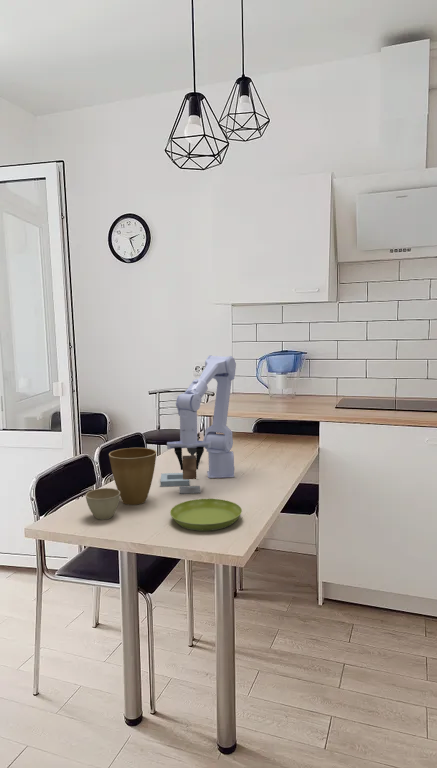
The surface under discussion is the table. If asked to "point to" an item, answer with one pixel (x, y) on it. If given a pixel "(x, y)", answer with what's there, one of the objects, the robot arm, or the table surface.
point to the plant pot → (133, 473)
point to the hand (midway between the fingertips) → (189, 469)
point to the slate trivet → (189, 489)
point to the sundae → (193, 450)
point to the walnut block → (189, 467)
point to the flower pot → (103, 502)
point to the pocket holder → (173, 479)
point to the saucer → (206, 514)
